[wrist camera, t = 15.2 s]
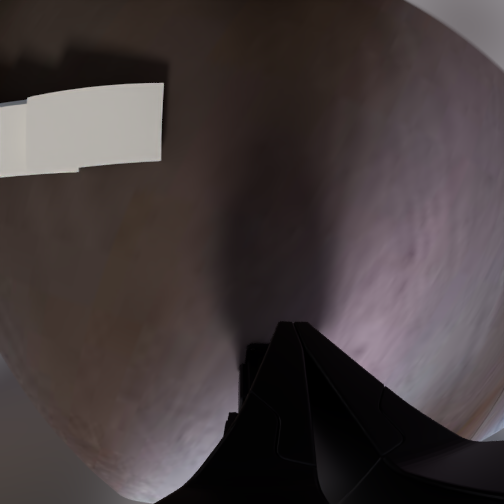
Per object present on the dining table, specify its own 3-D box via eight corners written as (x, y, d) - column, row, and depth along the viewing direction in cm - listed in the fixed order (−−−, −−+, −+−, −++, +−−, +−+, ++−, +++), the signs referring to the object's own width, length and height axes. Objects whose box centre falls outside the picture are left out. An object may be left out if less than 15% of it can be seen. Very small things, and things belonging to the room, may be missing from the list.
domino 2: (164, 82, 15) (27, 97, 12) (161, 160, 17) (26, 175, 14) (161, 87, 17) (35, 100, 13) (158, 158, 19) (35, 171, 15)
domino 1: (84, 100, 15) (-26, 111, 11) (78, 172, 17) (-28, 180, 13) (86, 102, 17) (-17, 112, 12) (80, 168, 18) (-20, 176, 14)
